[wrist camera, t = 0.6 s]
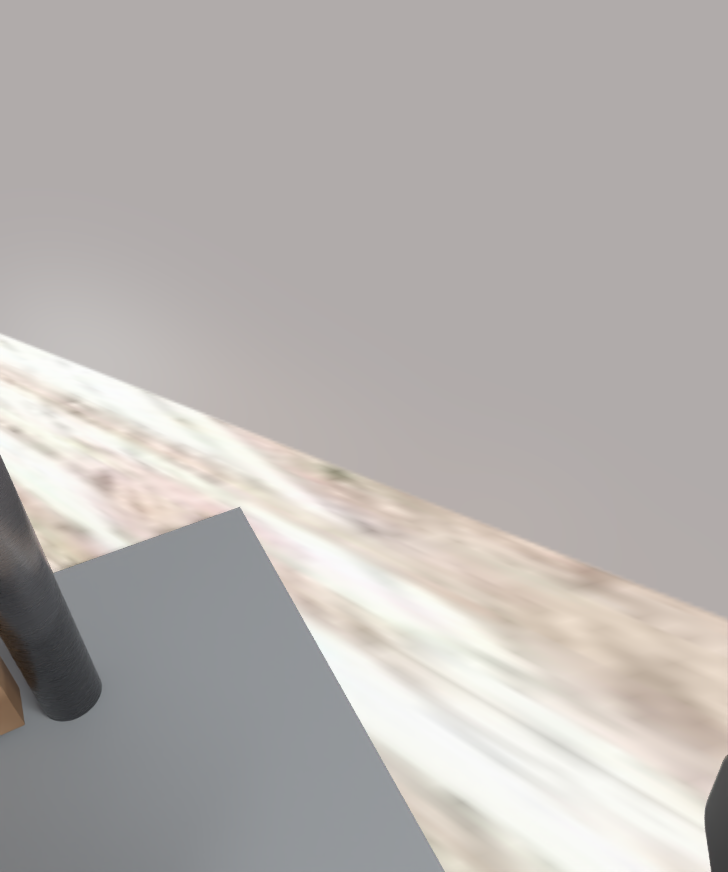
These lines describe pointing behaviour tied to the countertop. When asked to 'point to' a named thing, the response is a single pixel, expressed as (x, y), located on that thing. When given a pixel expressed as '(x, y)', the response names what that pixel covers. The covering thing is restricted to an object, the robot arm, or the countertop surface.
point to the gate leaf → (9, 701)
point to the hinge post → (40, 618)
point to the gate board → (199, 730)
